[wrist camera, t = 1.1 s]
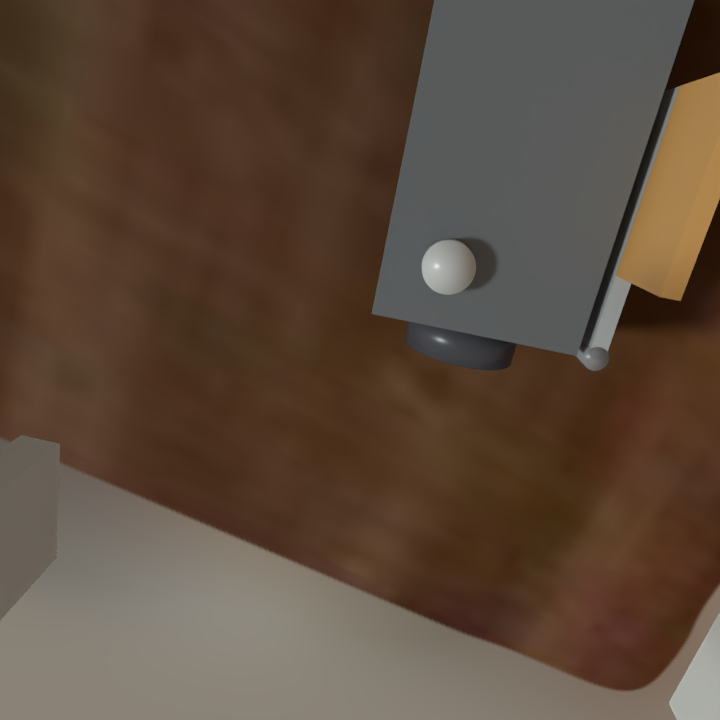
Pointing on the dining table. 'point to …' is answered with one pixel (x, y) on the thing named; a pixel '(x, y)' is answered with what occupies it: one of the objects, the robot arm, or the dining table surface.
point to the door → (662, 211)
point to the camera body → (520, 170)
